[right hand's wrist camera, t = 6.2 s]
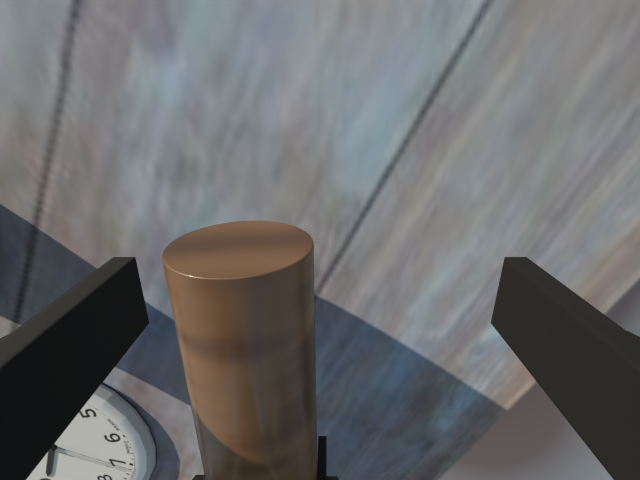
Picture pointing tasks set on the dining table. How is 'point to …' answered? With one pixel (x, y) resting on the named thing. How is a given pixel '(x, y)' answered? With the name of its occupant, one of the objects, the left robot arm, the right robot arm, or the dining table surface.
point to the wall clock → (101, 444)
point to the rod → (248, 346)
